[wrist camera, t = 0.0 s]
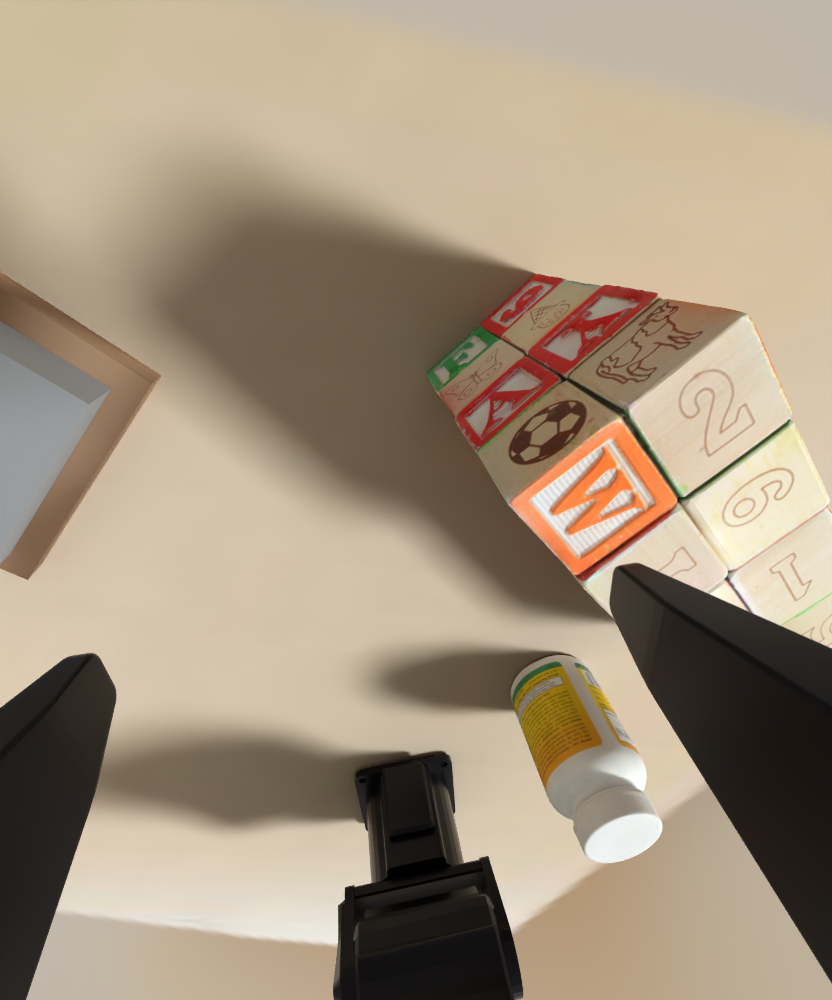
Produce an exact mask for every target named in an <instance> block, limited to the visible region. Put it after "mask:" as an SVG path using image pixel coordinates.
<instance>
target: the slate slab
mask: <svg viewBox="0 0 832 1000" xmlns="http://www.w3.org/2000/svg"><path fill="white" fill-rule="evenodd" d="M110 390H111V388H109V387H108V386H106V385H104V384H103V383H101V382H99V381H98V380H96V379H95V378H93V377H91V376H90V375H88V374H86V373H85V372H83V371H81V370H80V369H78V368H77V367H75V366H73V365H72V364H70V363H68V362H67V361H65V360H63V359H62V358H60V357H59V356H57V355H55V354H54V353H52V352H50V351H49V350H47V349H45V348H44V347H42V346H40V345H39V344H37V343H36V342H34V341H32V340H31V339H29V338H27V337H26V336H24V335H22V334H21V333H19V332H18V331H16V330H14V329H13V328H11V327H9V326H8V325H6V324H4V323H3V322H1V321H0V564H1V563H2V562H3V561H4V560H5V559H6V558H7V557H8V556H9V555H10V554H11V552H12V551H13V549H14V547H15V546H16V544H17V542H18V541H19V539H20V537H21V536H22V534H23V533H24V531H25V529H26V528H27V526H28V524H29V523H30V521H31V519H32V518H33V516H34V515H35V513H36V511H37V510H38V508H39V506H40V505H41V503H42V501H43V500H44V498H45V497H46V495H47V493H48V492H49V490H50V488H51V487H52V485H53V483H54V482H55V480H56V479H57V477H58V475H59V474H60V472H61V470H62V469H63V467H64V465H65V464H66V462H67V461H68V459H69V457H70V456H71V454H72V452H73V451H74V449H75V447H76V446H77V444H78V443H79V441H80V439H81V438H82V436H83V434H84V433H85V431H86V429H87V428H88V426H89V424H90V423H91V421H92V420H93V418H94V416H95V415H96V413H97V411H98V410H99V408H100V406H101V405H102V403H103V402H104V400H105V398H106V397H107V395H108V393H109V392H110Z"/></svg>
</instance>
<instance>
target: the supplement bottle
mask: <svg viewBox="0 0 832 1000" xmlns="http://www.w3.org/2000/svg"><path fill="white" fill-rule="evenodd" d="M510 695H511V700H512V704H513V707H514V709H515V712H516V715H517V717H518V720H519V723H520V725H521V728H522V730H523V733H524V736H525V738H526V741H527V744H528V746H529V749H530V752H531V754H532V757H533V759H534V762H535V765H536V768H537V770H538V773H539V775H540V778H541V780H542V783H543V786H544V788H545V791H546V794H547V796H548V798H549V801H550V803H551V804H552V806H553V807H554V808H555V809H556V810H557V811H558V812H559V813H560V814H561V815H563V816H564V817H566V818H568V819H571V820H573V821H574V826H573V827H574V832H575V834H576V836H577V838H578V840H579V843H580V845H581V847H582V849H583V852H584V853H585V855H586V856H587V857H588V858H589V859H590V860H592V861H595V862H600V863H613V862H618V861H622V860H626V859H628V858H631V857H634V856H636V855H638V854H640V853H641V852H643V851H645V850H646V849H648V848H649V847H650V846H651V845H652V844H653V843H654V842H655V841H656V840H657V839H658V838H659V836H660V834H661V831H662V822H661V820H660V818H659V816H658V814H657V812H656V810H655V808H654V807H653V805H652V803H651V800H650V799H649V797H648V796H647V795H646V794H645V793H644V792H643V790H644V787H645V784H646V768H645V765H644V762H643V760H642V758H641V756H640V754H639V753H638V751H637V749H636V748H635V746H634V744H633V742H632V741H631V739H630V737H629V736H628V734H627V732H626V731H625V729H624V727H623V725H622V724H621V722H620V720H619V719H618V717H617V715H616V714H615V712H614V710H613V708H612V707H611V705H610V703H609V702H608V700H607V698H606V697H605V695H604V693H603V691H602V690H601V688H600V686H599V685H598V683H597V681H596V680H595V678H594V676H593V675H592V673H591V672H590V670H589V668H588V667H587V666H586V665H585V664H584V663H583V662H582V661H580V660H579V659H577V658H574V657H571V656H566V655H555V656H549V657H545V658H543V659H540V660H538V661H536V662H534V663H532V664H530V665H528V666H527V667H526V668H524V669H523V670H522V671H521V672H520V673H519V674H518V675H517V677H516V678H515V680H514V682H513V685H512V688H511V694H510Z"/></svg>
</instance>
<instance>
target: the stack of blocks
mask: <svg viewBox="0 0 832 1000" xmlns="http://www.w3.org/2000/svg"><path fill="white" fill-rule="evenodd" d="M426 375H427V377H428V379H429V381H430V383H431V385H432V386H433V388H434V390H435V392H436V394H437V395H438V396H439V397H440V399H441V400H442V401H443V402H444V403H445V404H446V406H447V407H448V408H449V409H450V411H451V412H452V414H453V415H454V416H455V417H456V418H455V423H456V424H457V426H458V427H459V429H460V430H461V432H462V433H463V435H464V436H465V438H466V440H467V441H468V443H469V444H470V445H471V447H472V448H473V450H474V451H475V452H476V454H477V455H478V457H479V458H480V459H481V461H482V463H483V464H484V466H485V468H486V469H487V471H488V473H489V475H490V476H491V478H492V480H493V481H494V483H495V485H496V486H497V488H498V490H499V491H500V493H501V495H502V496H503V498H504V499H505V501H506V502H507V504H508V505H509V506H510V507H511V508H512V509H513V511H514V512H515V513H516V514H517V515H518V516H519V517H520V518H521V519H522V520H523V521H524V522H525V524H526V525H527V526H528V527H529V528H530V529H531V530H532V531H533V532H534V533H535V534H536V535H537V536H538V537H539V538H540V539H541V540H542V542H543V543H544V544H545V545H546V546H547V547H548V548H549V549H550V550H551V551H552V552H553V553H554V555H555V556H556V557H557V558H558V559H559V560H560V561H561V562H562V563H563V564H564V565H565V566H566V568H567V569H568V570H569V571H570V572H571V573H572V575H573V576H574V577H575V579H576V580H577V581H578V582H579V584H580V585H581V586H582V587H583V588H584V590H585V591H586V592H587V593H588V594H589V595H590V596H591V597H592V598H593V599H594V600H595V601H596V602H597V603H598V604H599V605H600V606H601V607H602V608H603V609H604V610H605V611H606V612H607V613H608V614H609V615H610V616H611V617H612V618H613V616H612V613H611V610H610V606H609V598H610V591H611V583H612V576H613V571H614V569H615V567H617V566H618V565H623V564H629V563H640V564H643V565H645V566H647V567H650V568H652V569H654V570H656V571H659V572H661V573H663V574H665V575H668V576H670V577H672V578H674V579H677V580H679V581H681V582H683V583H686V584H688V585H690V586H693V587H695V588H697V589H699V590H702V591H704V592H706V593H708V594H711V595H713V596H715V597H717V598H720V599H722V600H724V601H726V602H729V603H731V604H733V605H735V606H738V607H740V608H742V609H744V610H747V611H749V612H751V613H753V614H756V615H758V616H760V617H762V618H765V619H767V620H769V621H771V622H774V623H776V624H778V625H780V626H783V627H785V628H787V629H789V630H792V631H794V632H796V633H798V634H801V635H803V636H805V637H807V638H810V639H812V640H814V641H817V642H819V643H821V644H823V645H826V646H828V647H830V648H832V512H831V510H830V509H829V508H828V504H829V500H830V499H829V497H828V494H827V492H826V490H825V487H824V485H823V483H822V481H821V478H820V476H819V474H818V472H817V469H816V467H815V465H814V463H813V461H812V458H811V456H810V454H809V452H808V450H807V448H806V446H805V444H804V441H803V439H802V437H801V435H800V433H799V431H798V429H797V426H796V425H795V424H794V422H792V421H791V420H790V419H789V418H790V417H791V415H792V409H791V407H790V405H789V402H788V400H787V398H786V395H785V393H784V391H783V388H782V386H781V384H780V382H779V379H778V377H777V375H776V372H775V370H774V368H773V365H772V363H771V361H770V359H769V356H768V354H767V352H766V349H765V347H764V345H763V343H762V340H761V338H760V336H759V333H758V331H757V329H756V327H755V324H754V322H753V321H752V320H751V318H750V317H749V316H748V315H747V314H745V313H743V312H739V311H736V310H731V309H726V308H720V307H713V306H707V305H701V304H695V303H689V302H682V301H675V300H669V299H666V300H663V299H662V298H661V297H660V296H659V295H658V294H657V293H654V292H648V291H643V290H636V289H631V288H624V287H620V286H611V285H604V286H599V285H592V284H584V283H579V282H574V281H567V280H566V279H562V278H557V277H549V276H545V275H540V274H537V275H535V276H533V277H532V278H531V279H530V280H529V281H528V282H527V283H525V284H524V285H523V286H522V287H521V288H520V289H519V290H518V291H517V292H515V293H514V294H513V295H512V296H511V297H510V298H509V299H508V300H507V301H505V302H504V303H503V304H502V305H501V306H500V307H499V308H498V309H497V310H496V311H494V312H493V313H492V314H491V315H490V316H489V317H488V318H487V319H486V320H484V321H483V322H482V323H481V325H480V326H479V327H478V328H477V329H476V330H475V331H474V332H473V333H472V334H471V335H469V336H468V337H467V338H466V339H465V340H464V341H463V342H462V343H460V344H459V345H458V346H457V347H456V348H455V349H454V350H452V351H451V352H450V353H449V354H448V355H447V356H446V357H445V358H444V359H442V360H441V361H440V362H439V363H438V364H437V365H436V366H435V367H433V368H432V369H431V370H430V371H429V372H428V373H427V374H426ZM613 619H614V618H613Z"/></svg>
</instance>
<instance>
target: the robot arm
mask: <svg viewBox="0 0 832 1000" xmlns="http://www.w3.org/2000/svg"><path fill="white" fill-rule="evenodd" d="M609 606H610V610H611V613H612V616H613V618H614V620H615V622H616V624H617V626H618V628H619V630H620V632H621V634H622V636H623V638H624V640H625V642H626V644H627V647H628V649H629V651H630V653H631V655H632V657H633V659H634V661H635V663H636V665H637V667H638V669H639V671H640V673H641V675H642V677H643V679H644V681H645V683H646V685H647V687H648V689H649V690H650V692H651V694H652V695H653V697H654V699H655V700H656V702H657V704H658V705H659V707H660V708H661V710H662V712H663V713H664V715H665V716H666V718H667V720H668V721H669V723H670V724H671V726H672V728H673V729H674V731H675V733H676V734H677V736H678V737H679V739H680V741H681V742H682V744H683V745H684V747H685V749H686V750H687V752H688V753H689V755H690V757H691V758H692V760H693V761H694V763H695V765H696V766H697V768H698V769H699V771H700V773H701V774H702V776H703V777H704V779H705V781H706V782H707V784H708V785H709V787H710V789H711V790H712V792H713V793H714V795H715V796H716V798H717V800H718V801H719V803H720V805H721V806H722V808H723V810H724V811H725V813H726V814H727V816H728V818H729V819H730V821H731V822H732V824H733V825H734V827H735V829H736V830H737V832H738V834H739V835H740V837H741V838H742V840H743V842H744V843H745V845H746V846H747V848H748V850H749V851H750V853H751V854H752V856H753V858H754V859H755V861H756V862H757V864H758V866H759V867H760V869H761V871H762V872H763V874H764V875H765V877H766V878H767V880H768V882H769V883H770V885H771V887H772V888H773V890H774V891H775V893H776V894H777V896H778V898H779V899H780V901H781V902H782V904H783V906H784V907H785V909H786V911H787V912H788V914H789V915H790V917H791V919H792V920H793V922H794V923H795V925H796V927H797V928H798V930H799V931H800V933H801V935H802V936H803V938H804V939H805V941H806V943H807V944H808V946H809V947H810V949H811V950H812V952H813V954H814V956H815V957H816V959H817V960H818V962H819V963H820V965H821V967H822V968H823V970H824V972H825V973H826V975H827V976H828V978H829V980H830V981H831V983H832V648H830V647H828V646H826V645H823V644H821V643H819V642H817V641H814V640H812V639H810V638H807V637H805V636H803V635H801V634H798V633H796V632H794V631H792V630H789V629H787V628H785V627H783V626H780V625H778V624H776V623H774V622H771V621H769V620H767V619H765V618H762V617H760V616H758V615H756V614H753V613H751V612H749V611H747V610H744V609H742V608H740V607H738V606H735V605H733V604H731V603H729V602H726V601H724V600H722V599H720V598H717V597H715V596H713V595H711V594H708V593H706V592H704V591H702V590H699V589H697V588H695V587H693V586H690V585H688V584H686V583H683V582H681V581H679V580H677V579H674V578H672V577H670V576H668V575H665V574H663V573H661V572H659V571H656V570H654V569H652V568H650V567H647V566H645V565H643V564H640V563H629V564H623V565H618V566H617V567H615V569H614V571H613V576H612V583H611V591H610V598H609ZM115 704H116V689H115V686H114V684H113V682H112V680H111V678H110V676H109V674H108V672H107V670H106V669H105V667H104V665H103V663H102V661H101V659H100V658H99V656H97V655H96V654H94V653H86V654H80V655H74V656H70V657H67V658H65V659H63V660H62V661H61V662H59V663H58V664H57V665H55V666H54V667H53V668H51V669H50V670H49V671H48V672H46V673H45V674H44V675H42V676H41V677H40V678H39V679H37V680H36V681H35V682H33V683H32V684H31V685H29V686H28V687H27V688H26V689H24V690H23V691H22V692H20V693H19V694H18V695H17V696H15V697H14V698H13V699H11V700H10V701H9V702H7V703H6V704H5V705H4V706H2V707H1V708H0V1000H26V998H27V995H28V992H29V989H30V986H31V983H32V980H33V977H34V974H35V971H36V968H37V965H38V962H39V959H40V956H41V953H42V950H43V947H44V944H45V941H46V938H47V935H48V932H49V929H50V926H51V923H52V920H53V917H54V914H55V912H56V909H57V906H58V903H59V900H60V897H61V894H62V891H63V888H64V885H65V882H66V879H67V876H68V873H69V870H70V867H71V864H72V861H73V858H74V855H75V852H76V849H77V846H78V843H79V840H80V837H81V834H82V831H83V828H84V825H85V822H86V819H87V816H88V813H89V810H90V807H91V804H92V801H93V798H94V794H95V791H96V787H97V783H98V779H99V775H100V771H101V766H102V762H103V757H104V753H105V748H106V744H107V739H108V735H109V730H110V726H111V721H112V717H113V713H114V708H115ZM355 784H356V789H357V793H358V797H359V802H360V806H361V810H362V815H363V819H364V823H365V828H366V830H367V831H368V836H369V852H370V867H371V882H372V883H370V884H366V885H361V886H357V887H355V886H354V885H353V886H348V887H345V900H344V901H343V902H342V903H341V904H340V905H338V949H337V958H336V966H335V967H336V968H335V976H334V984H333V996H334V1000H517V999H521V998H523V987H522V979H521V973H520V968H519V963H518V958H517V954H516V949H515V945H514V941H513V937H512V933H511V929H510V926H509V922H508V919H507V916H506V912H505V909H504V906H503V903H502V899H501V896H500V893H499V890H498V886H497V883H496V880H495V877H494V874H493V870H492V867H491V864H490V861H489V857H488V856H486V857H481V858H479V860H476V861H471V862H467V863H464V861H463V857H462V852H461V847H460V843H459V838H458V833H457V829H456V824H455V820H454V815H453V814H454V813H455V800H454V787H453V774H452V762H451V758H450V756H449V755H447V754H442V755H437V756H432V757H427V758H422V759H417V760H411V761H406V762H401V763H396V764H391V765H386V766H381V767H376V768H371V769H366V770H361V771H358V772H357V773H356V774H355Z"/></svg>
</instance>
